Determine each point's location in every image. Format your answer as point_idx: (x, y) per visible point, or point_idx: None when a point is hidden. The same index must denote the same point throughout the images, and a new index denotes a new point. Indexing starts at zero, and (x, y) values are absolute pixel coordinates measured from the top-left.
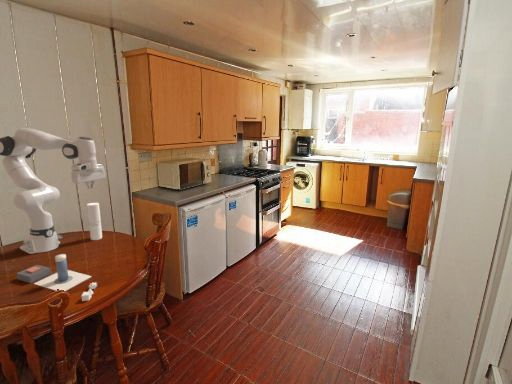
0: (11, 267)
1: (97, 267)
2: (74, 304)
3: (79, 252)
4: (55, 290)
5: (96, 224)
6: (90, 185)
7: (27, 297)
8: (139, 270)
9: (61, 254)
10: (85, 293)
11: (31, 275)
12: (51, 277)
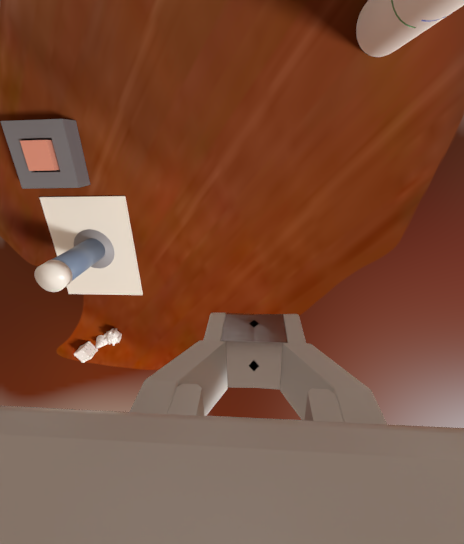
0: None
1: (181, 268)
2: (67, 342)
3: (228, 114)
4: None
5: (406, 22)
6: (256, 361)
7: (14, 244)
8: None
9: (56, 270)
10: (81, 355)
11: (27, 184)
12: (80, 209)
